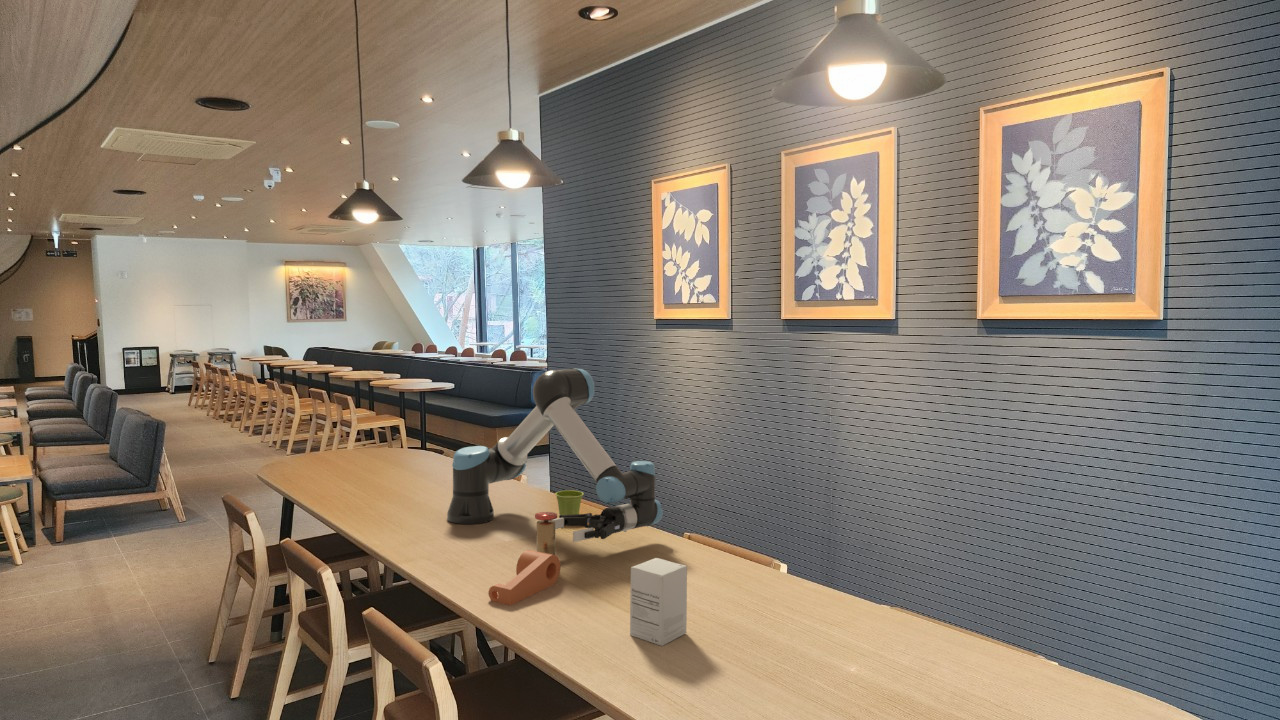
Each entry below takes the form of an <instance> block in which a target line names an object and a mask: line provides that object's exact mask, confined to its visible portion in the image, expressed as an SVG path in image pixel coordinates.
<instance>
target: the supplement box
mask: <svg viewBox="0 0 1280 720" xmlns="http://www.w3.org/2000/svg"><path fill="white" fill-rule="evenodd" d="M687 587H688V566H687V565H685V564H682V563H677V562H673V561H669V560H666V559H663V558H659V557H654V558H652V559H649V560H646V561H644V562H642V563H639V564H636V565H634V566H631V567H630V596H629V597H630V600H629V601H630V602H629V603H630V604H629V606H630V609H629V610H630V611H629V614H630V615H629V619H630V621H629V623H630V624H629V626H630V628H629V629H630V630H629V636H632V637H634V638H638V639H641V640H643V641H646V642H650V643H652V644H655V645H658V646H662V647H663V646H665V645H667V644H669V643H670V642H672V641H675V640H676V639H678V638H680V637H682V636H684V635H686V633H687V618H688V617H687V614H688V613H687V612H688V611H687V609H688V607H687V604H688V602H687V599H688V592H687V591H688V590H687V589H688V588H687Z"/></svg>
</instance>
